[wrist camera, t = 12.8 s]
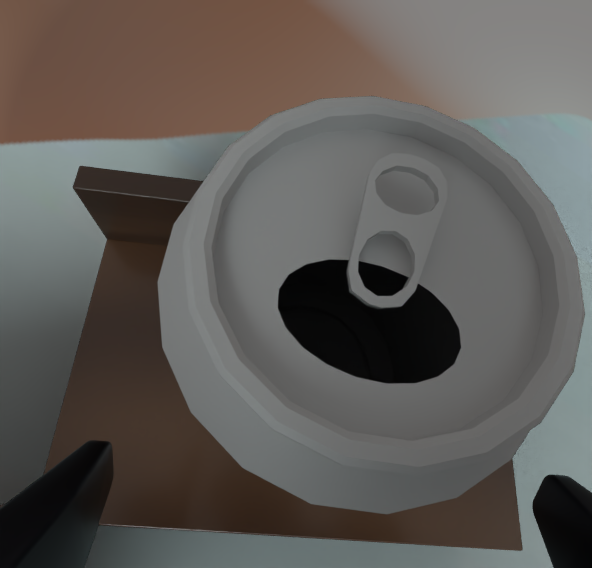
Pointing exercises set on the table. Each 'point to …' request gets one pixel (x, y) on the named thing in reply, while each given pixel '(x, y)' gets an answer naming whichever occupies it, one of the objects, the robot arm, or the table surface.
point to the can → (369, 304)
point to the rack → (185, 426)
